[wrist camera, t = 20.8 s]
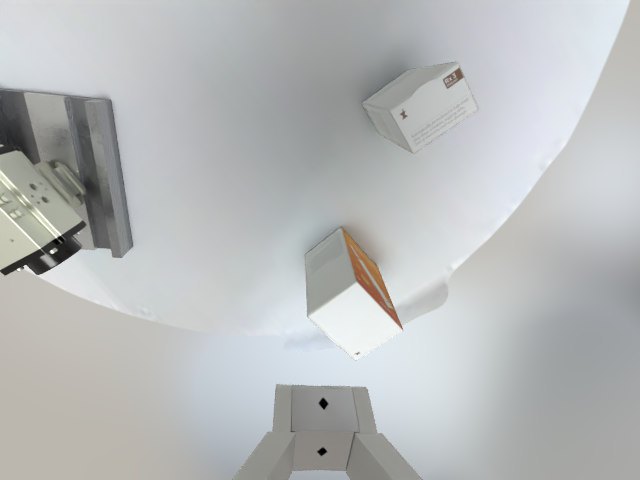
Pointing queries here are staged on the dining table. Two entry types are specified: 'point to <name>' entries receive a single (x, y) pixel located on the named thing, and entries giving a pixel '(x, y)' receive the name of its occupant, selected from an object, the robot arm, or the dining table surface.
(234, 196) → the dining table surface
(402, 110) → the skincare box
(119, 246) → the rail plate
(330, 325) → the small box
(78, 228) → the pneumatic valve
